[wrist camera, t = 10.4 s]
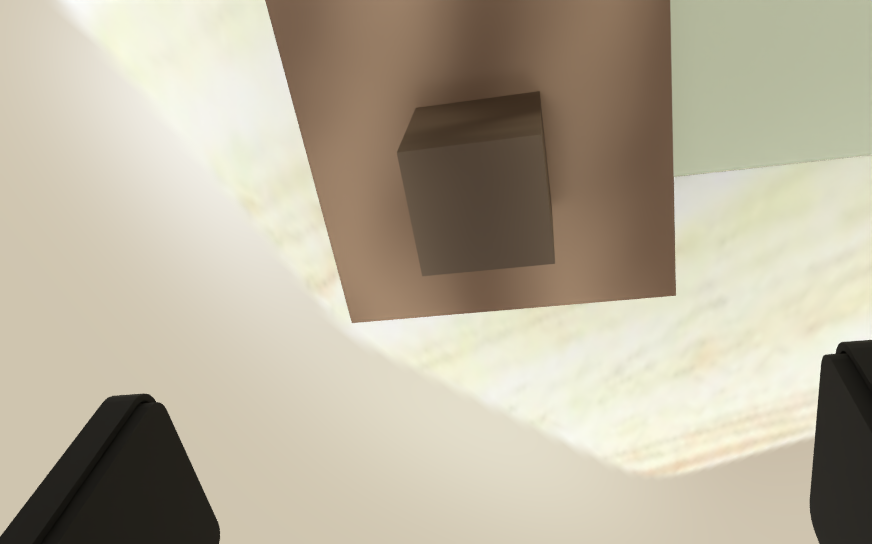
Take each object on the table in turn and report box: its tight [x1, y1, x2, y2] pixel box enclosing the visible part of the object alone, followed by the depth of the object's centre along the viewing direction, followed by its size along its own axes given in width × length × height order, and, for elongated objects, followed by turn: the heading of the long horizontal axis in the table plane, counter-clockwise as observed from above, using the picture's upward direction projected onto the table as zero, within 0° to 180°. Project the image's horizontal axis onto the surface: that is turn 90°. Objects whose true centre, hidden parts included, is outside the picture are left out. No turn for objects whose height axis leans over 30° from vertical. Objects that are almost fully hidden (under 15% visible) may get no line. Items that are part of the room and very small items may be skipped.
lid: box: [265, 0, 676, 323], centre depth 24 cm, size 12×12×5 cm
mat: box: [670, 0, 872, 177], centre depth 31 cm, size 14×14×1 cm
